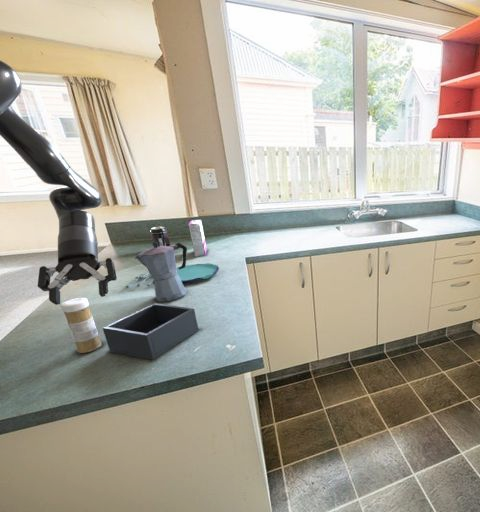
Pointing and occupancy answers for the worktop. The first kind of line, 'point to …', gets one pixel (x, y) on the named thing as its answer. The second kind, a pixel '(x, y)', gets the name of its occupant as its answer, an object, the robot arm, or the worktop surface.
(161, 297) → the moka pot
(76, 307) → the sprinkles bottle
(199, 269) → the teal oval tray
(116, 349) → the open box
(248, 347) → the worktop surface
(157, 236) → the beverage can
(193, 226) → the candy bar box
